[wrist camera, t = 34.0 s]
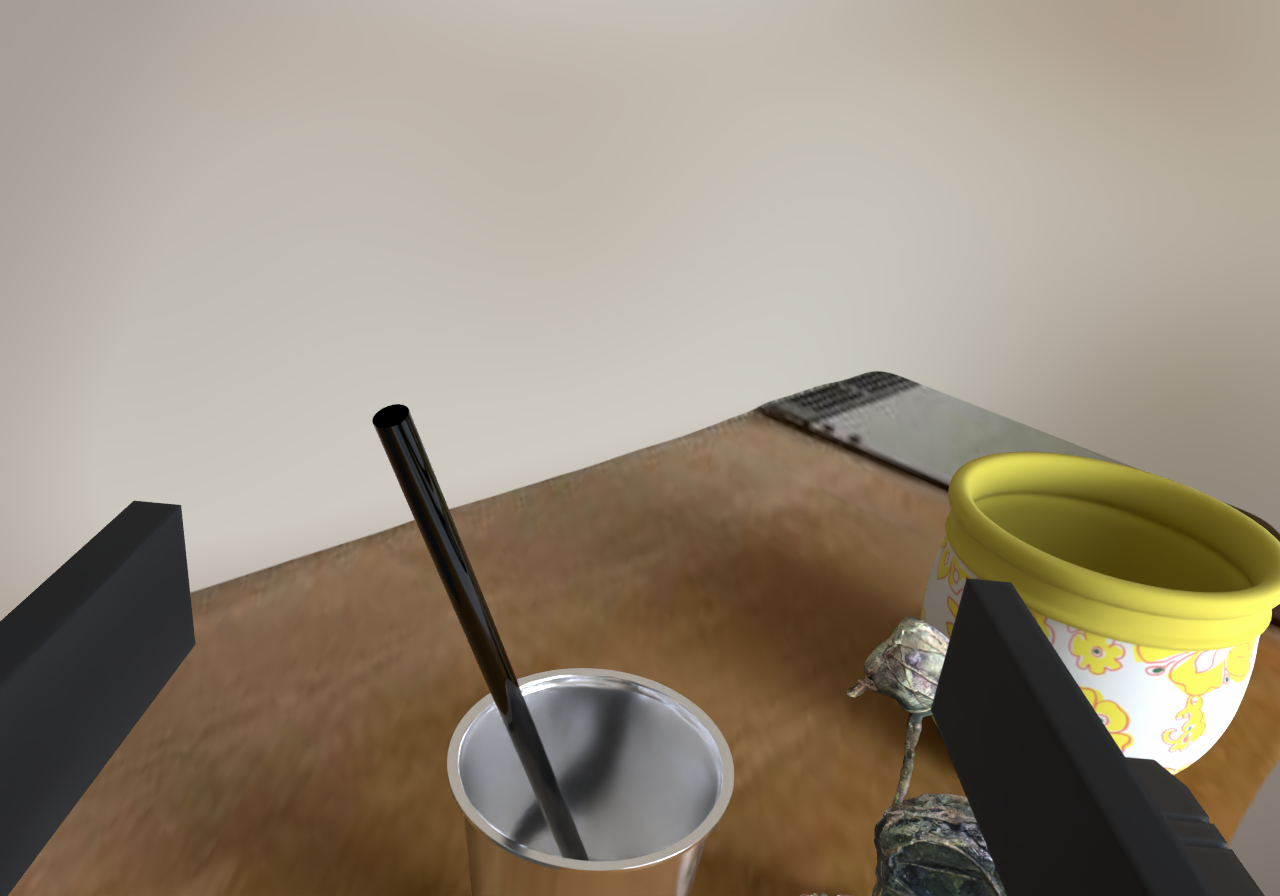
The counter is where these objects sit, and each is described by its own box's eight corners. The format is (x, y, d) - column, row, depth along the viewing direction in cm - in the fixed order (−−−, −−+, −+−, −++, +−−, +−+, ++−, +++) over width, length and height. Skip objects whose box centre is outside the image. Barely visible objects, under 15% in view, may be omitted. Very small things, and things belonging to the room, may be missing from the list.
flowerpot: (905, 816, 54) (973, 562, 47) (887, 638, 70) (936, 432, 63) (1245, 886, 51) (1367, 629, 45) (1144, 685, 68) (1222, 476, 61)
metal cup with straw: (382, 1197, 34) (367, 414, 22) (452, 927, 44) (467, 294, 32) (685, 1229, 34) (832, 462, 22) (685, 950, 44) (784, 327, 32)
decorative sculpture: (984, 1142, 38) (1138, 740, 30) (733, 981, 43) (807, 605, 35) (1032, 992, 44) (1169, 629, 36) (808, 868, 50) (885, 528, 42)
